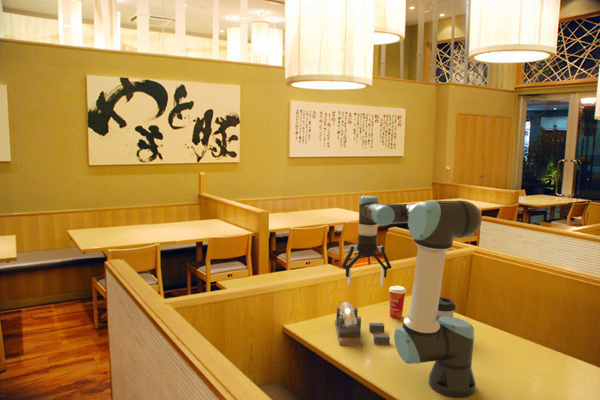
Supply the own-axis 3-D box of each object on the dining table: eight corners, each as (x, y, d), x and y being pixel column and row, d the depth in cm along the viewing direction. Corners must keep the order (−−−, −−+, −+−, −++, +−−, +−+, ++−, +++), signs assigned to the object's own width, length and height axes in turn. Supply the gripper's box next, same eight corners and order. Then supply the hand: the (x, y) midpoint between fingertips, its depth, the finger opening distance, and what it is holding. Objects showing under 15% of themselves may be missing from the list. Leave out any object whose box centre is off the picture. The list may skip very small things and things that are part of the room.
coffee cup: (459, 337, 203) (462, 303, 201) (437, 341, 199) (439, 306, 196) (442, 327, 213) (444, 295, 211) (420, 330, 209) (423, 297, 207)
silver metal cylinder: (357, 329, 194) (357, 316, 193) (344, 329, 194) (344, 316, 193) (352, 312, 211) (352, 301, 211) (340, 312, 211) (340, 301, 211)
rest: (389, 344, 194) (389, 337, 194) (374, 344, 194) (375, 337, 194) (382, 329, 209) (383, 323, 209) (369, 329, 209) (369, 322, 208)
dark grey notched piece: (361, 345, 192) (362, 322, 191) (339, 344, 192) (340, 322, 191) (354, 323, 214) (355, 303, 213) (334, 323, 214) (335, 303, 213)
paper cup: (384, 314, 226) (385, 286, 224) (397, 312, 230) (399, 284, 228) (394, 320, 219) (395, 291, 217) (407, 318, 223) (409, 289, 221)
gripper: (395, 232, 199) (393, 282, 201) (336, 231, 198) (334, 281, 200) (400, 236, 191) (397, 287, 194) (338, 235, 190) (336, 287, 193)
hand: (365, 284), depth 197 cm, fingers open, 13 cm apart
